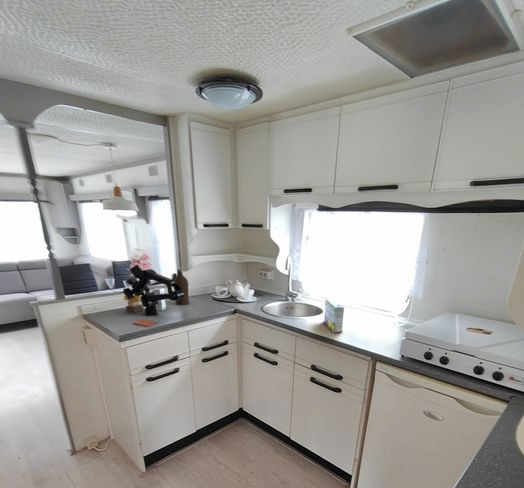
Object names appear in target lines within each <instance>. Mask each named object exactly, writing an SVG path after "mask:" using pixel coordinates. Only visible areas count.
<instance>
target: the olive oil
mask: <svg viewBox="0 0 524 488" xmlns="http://www.w3.org/2000/svg"><path fill="white" fill-rule="evenodd" d="M176 273H177V275H176V276H175V278H174V279H173V280H175V282H176V284H177V285H179V286H180V287H181V289H182V291H183V293H184V298H182V299H179V300H176V301H175V305H178V306H185V305H189V303H190V299H189V298H190V297H189V281H188V279H187V278H186V276H185V275H183V270H182V269H181V268H178V269H177V272H176ZM173 291H176V289H175V288H174V287H173Z"/></svg>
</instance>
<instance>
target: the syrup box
mask: <svg viewBox="0 0 524 488" xmlns="http://www.w3.org/2000/svg"><path fill="white" fill-rule="evenodd" d="M152 292H154V294H163V293H165V288H162V287H156V288H154V289H152ZM157 301H158V304H156V311H164V310H167V303H166V300H157Z"/></svg>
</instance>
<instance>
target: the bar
mask: <svg viewBox="0 0 524 488" xmlns="http://www.w3.org/2000/svg"><path fill="white" fill-rule="evenodd" d="M134 296H135V295H134ZM123 299H124V301H127V302H128V301H133V302H138V301H139V302H141V296H135V297H133V298H132V299H130V300H128V298H127V297H126V295H125V294H124V295H123Z"/></svg>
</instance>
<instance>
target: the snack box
mask: <svg viewBox="0 0 524 488" xmlns="http://www.w3.org/2000/svg"><path fill="white" fill-rule="evenodd" d="M324 304H325V307H324V319H323V321H324V323H325V325H326V326H327V327H328V328H329V329H330V331H331V332H332V333H342V332H343V321H344V320H343V319H344V311H345V307H344V306H343V305H342V304H341V303H340V302H338V301H337V300H336V299H335V298H325V303H324Z"/></svg>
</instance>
